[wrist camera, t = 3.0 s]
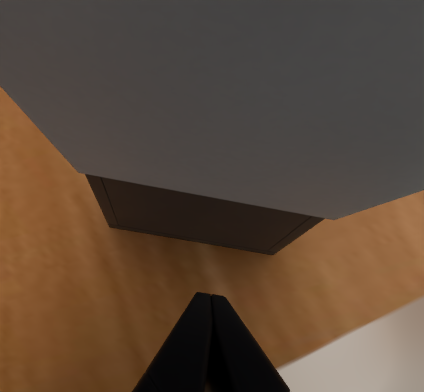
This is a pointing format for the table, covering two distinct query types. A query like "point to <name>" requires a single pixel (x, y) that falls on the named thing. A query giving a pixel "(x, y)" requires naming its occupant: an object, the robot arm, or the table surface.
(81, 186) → the table surface
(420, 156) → the lid
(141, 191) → the dark grey box
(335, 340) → the table surface
